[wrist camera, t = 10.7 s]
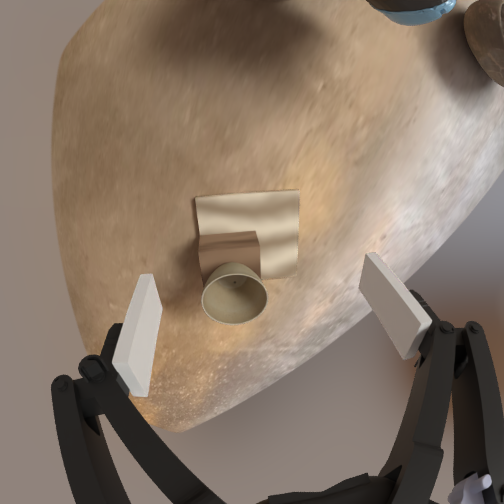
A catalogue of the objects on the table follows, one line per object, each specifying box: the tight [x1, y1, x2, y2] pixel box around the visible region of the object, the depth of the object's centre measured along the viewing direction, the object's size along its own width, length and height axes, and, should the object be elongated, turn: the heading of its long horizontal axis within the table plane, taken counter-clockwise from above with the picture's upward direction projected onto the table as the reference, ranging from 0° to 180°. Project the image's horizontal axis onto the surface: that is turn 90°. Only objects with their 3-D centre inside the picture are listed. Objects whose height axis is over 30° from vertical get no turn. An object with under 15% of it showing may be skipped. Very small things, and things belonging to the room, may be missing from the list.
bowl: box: [464, 0, 504, 87], centre depth 25 cm, size 24×24×15 cm
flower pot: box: [201, 262, 268, 325], centre depth 44 cm, size 10×10×7 cm
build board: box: [195, 189, 300, 280], centre depth 51 cm, size 18×18×1 cm
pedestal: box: [198, 230, 261, 287], centre depth 50 cm, size 10×10×6 cm
